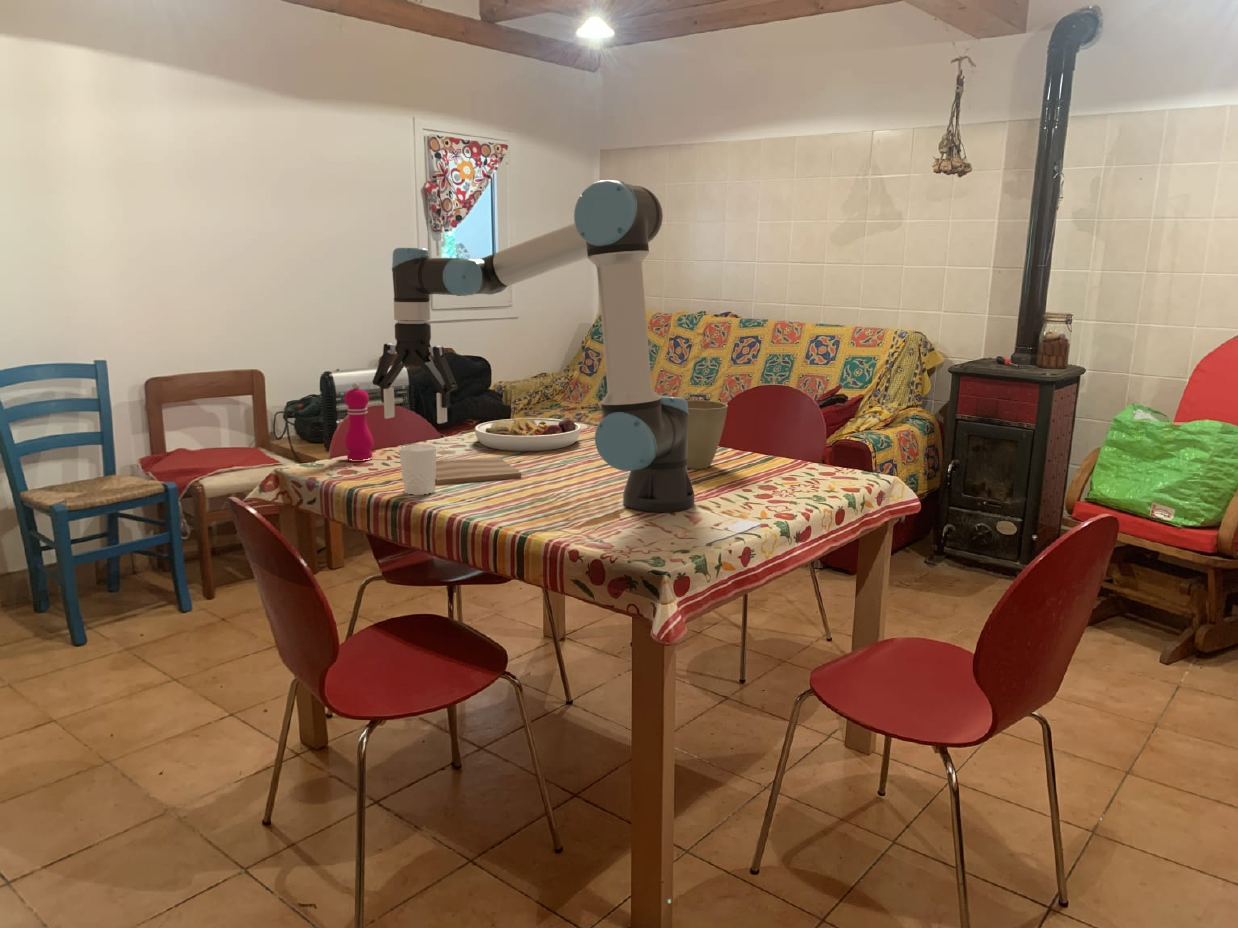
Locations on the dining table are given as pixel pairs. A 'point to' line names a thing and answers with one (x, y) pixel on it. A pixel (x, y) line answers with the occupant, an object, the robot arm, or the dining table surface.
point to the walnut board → (474, 470)
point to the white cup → (418, 468)
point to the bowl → (528, 434)
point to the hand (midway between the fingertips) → (415, 420)
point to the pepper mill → (358, 425)
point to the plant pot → (704, 431)
